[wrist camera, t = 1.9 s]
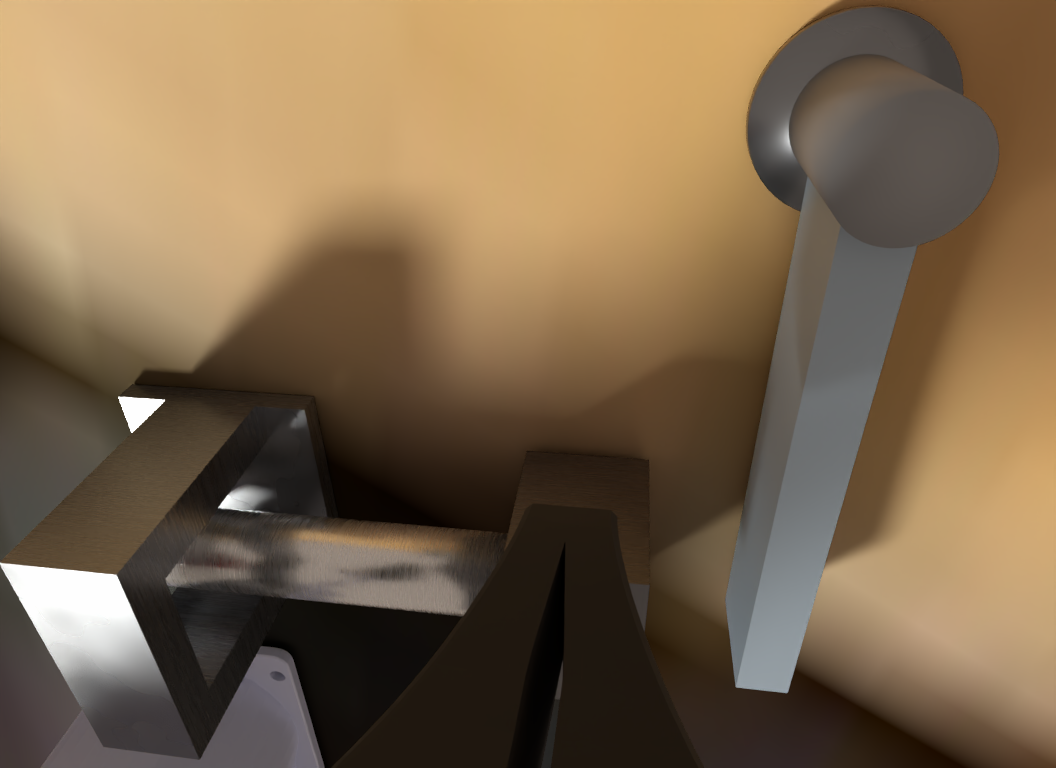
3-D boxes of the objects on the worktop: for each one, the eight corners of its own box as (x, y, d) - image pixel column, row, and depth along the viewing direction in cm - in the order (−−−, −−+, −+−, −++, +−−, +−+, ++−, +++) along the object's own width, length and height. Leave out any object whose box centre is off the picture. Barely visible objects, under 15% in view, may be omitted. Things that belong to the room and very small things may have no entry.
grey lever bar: (790, 605, 19) (814, 718, 17) (706, 597, 20) (716, 707, 17) (937, 54, 12) (1022, 91, 9) (800, 53, 12) (846, 89, 10)
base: (924, 215, 14) (929, 220, 14) (733, 209, 14) (734, 214, 14) (985, 5, 12) (992, 6, 12) (762, 5, 12) (765, 7, 12)
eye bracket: (348, 564, 21) (253, 767, 16) (191, 549, 22) (52, 739, 17) (313, 396, 18) (182, 581, 13) (132, 384, 19) (-63, 556, 14)
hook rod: (637, 575, 20) (636, 708, 16) (159, 530, 21) (68, 642, 18) (648, 459, 18) (649, 585, 14) (116, 420, 19) (5, 523, 16)
